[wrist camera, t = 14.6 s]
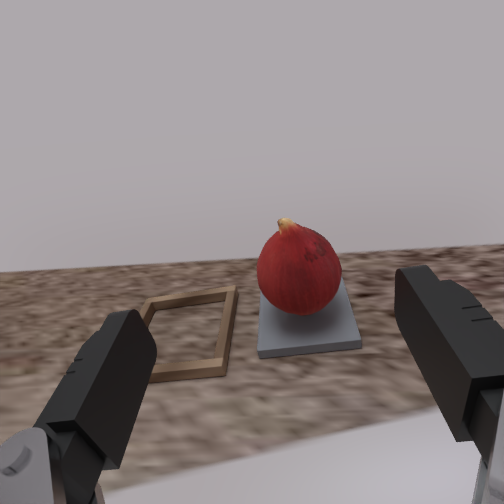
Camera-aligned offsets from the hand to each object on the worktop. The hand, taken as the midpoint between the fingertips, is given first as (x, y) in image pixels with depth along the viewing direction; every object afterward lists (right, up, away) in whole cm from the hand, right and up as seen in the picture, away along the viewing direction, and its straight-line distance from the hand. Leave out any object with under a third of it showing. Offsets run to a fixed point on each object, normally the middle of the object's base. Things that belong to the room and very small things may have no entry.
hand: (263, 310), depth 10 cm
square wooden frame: (-6, -5, +16) cm, 18 cm away
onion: (+4, -3, +14) cm, 15 cm away
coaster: (+4, -3, +15) cm, 16 cm away
